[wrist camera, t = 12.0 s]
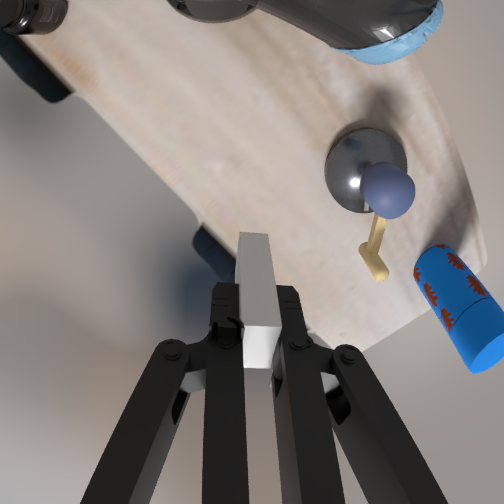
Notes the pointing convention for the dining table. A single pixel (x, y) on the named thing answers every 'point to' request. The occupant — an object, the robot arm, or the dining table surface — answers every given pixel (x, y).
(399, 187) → the blue crank handle
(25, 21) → the supplement bottle
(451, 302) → the thermos
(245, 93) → the dining table surface
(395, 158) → the post base
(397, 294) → the dining table surface
